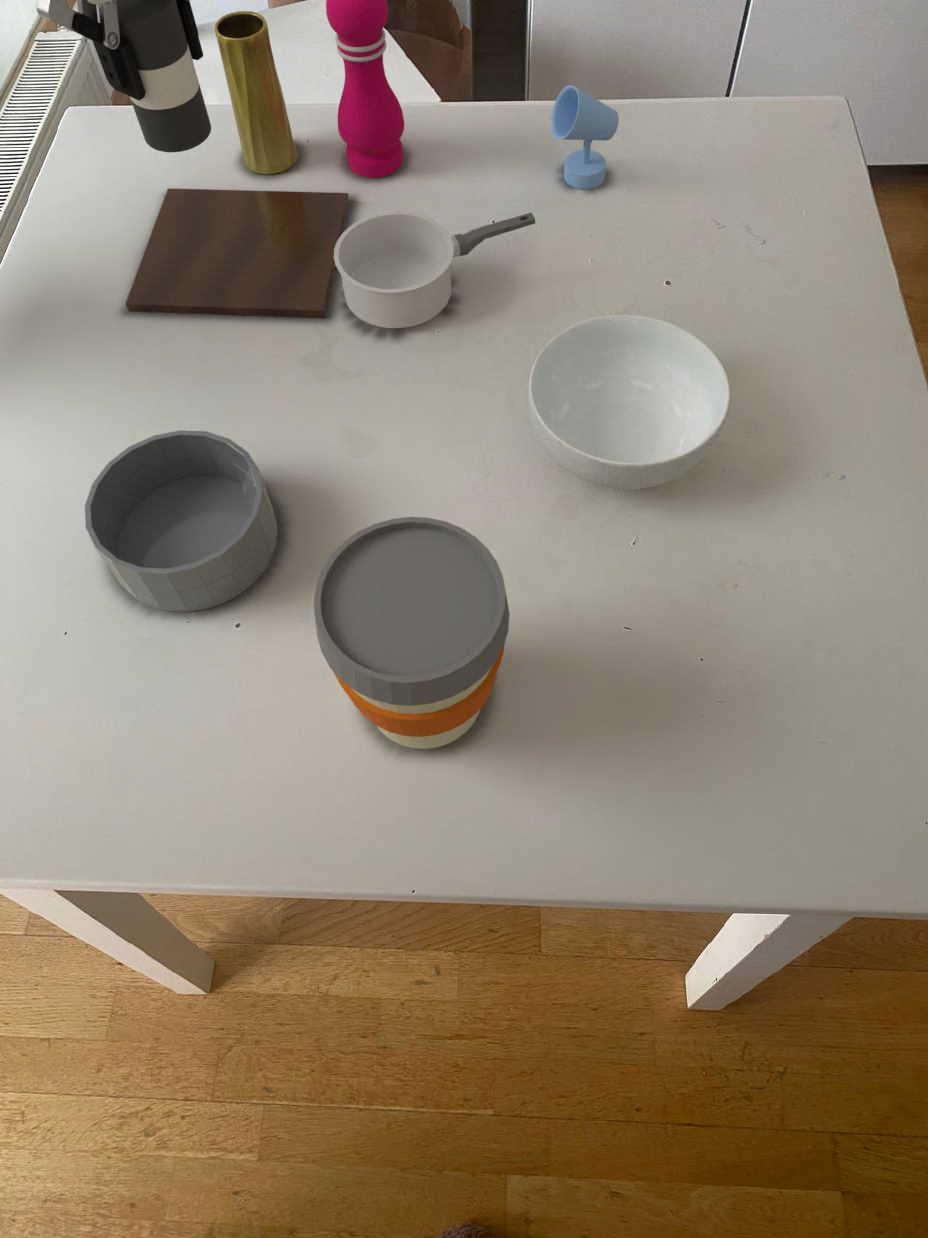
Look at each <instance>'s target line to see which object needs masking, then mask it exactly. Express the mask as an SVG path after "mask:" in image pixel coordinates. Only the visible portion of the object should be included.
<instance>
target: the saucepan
mask: <svg viewBox="0 0 928 1238" xmlns="http://www.w3.org/2000/svg"><path fill="white" fill-rule="evenodd" d="M535 224H536V218H535V216H534V214H533V213H532V212H527V213H524V214H521V215H517V216H514V217H510V218H508V219H504V220H499V221H497V222H494V223H490V224H487V225H483V226H479V227H477V228H475V229H472V230H469V231H467V232H466V233H463V234H462V233H457V234H454V235H451V234H450V232H448V230H447V229H446V228H445V227H444V226H443V225H442V224H441V223H440V222H438V221H436V220H434V219H433V218H431V217H428V216H427V215H423V214H420V213H416V212H411V211H385V212H380V213H375V214H372V215H369V216H366V217H364V218H362V219H360V220H358V221H356V222H354V223H353V224H352V225H350V226H348V227H347V228H345V230H343V233H342V234H341V236H340V238H339V239H338V241H337V243H336V245H335V248H334V261H335V268H337V271H338V272H339V274H340V277H341V283H342V288H343V294H344V298H345V299H344V300H345V303H346V305H347V306H348V308H349V310H350V312H351V313H353V314H354V316H356V317H357V318H358V319H360V320H361V321H363V322H365V323H367V324H370V325H372V326H375V327H379V328H386V329H404V328H410V327H415V326H418V325H421V324H424V323H426V322H427V321H429V320H432V319H433V318H435V317H436V316H437V315H439V314H440V313H441V312H442V311H443V310H444V308H445V307H446V306H447V304H448V302H449V301H450V299H451V295H452V272H451V271H452V269H451V262H452V261H453V258H458V257H463V256H468V254H469V253H470V252H472V251H473V250H474V249H475V248H476V247H477V246H478V245H480V244H481V243H482V242H483V241H485V240H488V239H490V238H493V237H496V236H499V235H502V234H506V233H509V232H513V231H515V230H519V229H522V228H526V227H528V226H532V225H535Z"/></svg>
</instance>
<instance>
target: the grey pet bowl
mask: <svg viewBox="0 0 928 1238" xmlns="http://www.w3.org/2000/svg"><path fill="white" fill-rule="evenodd" d="M275 515H276V513H275V509H274V507H273V504H272V501H271V499H270V496H269V493H268V490H267V487H266V485H265V482H264V479H263V477H262V474H261V470H260V469H259V467H258V465H257V464H256V462H255V461H254V460H253V458H252V456H251V454H250V453H249V452H248V451H247V450H246V449H245V448H243V447H241V446H240V445H239V444H237V443H236V442H235V441H233V440H232V439H231V438H228V437H225V436H222V435H220V434H216V433H213V432H210V431H206V430H185V429H184V430H183V429H182V430H181V429H180V430H175V431H169V432H165V433H160V434H154V435H151V436H150V437H147V438H145V439H143V440H141V441H138V442H137V443H134V444H132V445H129V446H128V447H127V448H125V449H124V450H123V451H121V452H120V453H119V454H117V455H116V456H115V457H114V458H113V459H111V460H109V462H108V463H107V464H106V465H105V466H104V467H103V469H102V470H101V471H100V472H99V474H98V476H97V477H96V478H95V479H94V480H93V482H92V484H91V487H90V489H89V493H88V495H87V498H86V501H85V503H84V517H85V518H84V519H85V520H84V521H85V523H84V524H85V530H86V532H87V534H88V536H89V538H90V540H91V542H92V544H93V547H94V548H95V549H96V551H97V552H98V554H99V556H100V557H101V558H102V560H103V561H104V562H105V564H106V565H107V567H108V569H109V570H110V571H111V573H112V574H113V575H114V577H115V578H116V580H117V582H119V584H120V585H121V586H122V587H123V588H124V589H125V590H126V591H127V592H128V593H129V594H130V595H131V596H133V597H134V598H135V599H136V600H137V601H140V602H141V603H143V604H145V605H147V606H150V607H152V608H155V609H158V610H163V611H167V612H177V613H178V612H179V613H183V612H185V613H187V612H188V613H189V612H197V611H202V610H206V609H210V608H213V607H214V608H215V607H216V606H219V605H222V604H224V603H227V602H229V601H230V600H232V599H234V598H236V597H237V596H239V595H241V594H242V593H244V591H246V590H247V589H249V587H251V586H252V585H253V584H254V583H255V582H256V581H257V580H258V579H259V578H260V576H261V575H262V574H263V573H264V572H265V570H266V569H267V567H268V566H269V564H270V562H271V560H272V558H273V555H274V553H275V550H276V547H277V541H278V524H277V519H276V516H275Z"/></svg>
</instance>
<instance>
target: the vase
mask: <svg viewBox="0 0 928 1238" xmlns="http://www.w3.org/2000/svg"><path fill="white" fill-rule="evenodd" d="M214 33H215V37H216V40H217V45H218V48H219V53H220V57H221V62H222V66H223V70H224V71H223V72H224V75H225V79H226V84H227V88H228V93H229V98H230V101H231V102H230V103H231V106H232V110H233V115H234V118H235V123H236V127H237V133H238V138H239V143H240V146H241V152H242V160H243V163H244V165H245V166H246V168H247V169H248V170H250V171H252V172H254V173H256V174H260V175H275V174H279V173H283V172H285V171H286V170H288V169H290V168H291V167H292V166H293V165H294V164H295V163H296V161H297V159H298V149H297V147H296V145H295V143H294V137H293V134H292V128H291V123H290V120H289V115H288V110H287V107H286V101H285V97H284V93H283V88H282V85H281V83H280V79H279V75H278V71H277V68H276V64H275V59H274V55H273V49H272V45H271V40H270V39H271V38H270V33H269V27H268V23H267V20H266V18H265V16H263V15H262V14H260V13H258V12H255V11H250V10H240V11H239V10H237V11H233V12H230V13H226V14H225V15H223V16H221V17H220V18H219V19H217V21H216V22H215V24H214Z"/></svg>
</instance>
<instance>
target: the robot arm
mask: <svg viewBox="0 0 928 1238" xmlns="http://www.w3.org/2000/svg"><path fill="white" fill-rule="evenodd" d="M76 2H77V3H76V4H77V11H76V10H74V9H73V8H71V7H70V6H69V4H68V0H37V1H36V13H37V14H38V16H40V17H41V18H43V19H46V20H48V21H50V22H52V23H55V24H56V25H59V26H61V27H63V28H66V29H68V30H70V31H72V32H74V33H76V34H78V35H81V36H82V37H84V38H86V39H88V40H90V41H92V43H93V45H94V49H95V53H96V54H97V57H98V60H99V62H100V65H101V68H102V70H103V73H104V76H105V79H106V80H107V83H108V84H109V85H110V86H111V88H113V90H115V91H117V92H119V93H121V94H123V95H126V96H128V97H129V98H130V97H132V98H134V99H136V100H138V101H140V100H141V99H143V98H144V97H145V94H146V92H145V89H144V86H143V83H142V80H141V77H140V74H139V71H138V68H137V65H136V62H135V59H134V56H133V53H132V50H131V47H130V46H129V44H128V43H126V42H124V41H122V40H120V32H119V21H118V9H117V0H76ZM176 3H177V7H178V10H179V14H180V17H181V21H182V25H183V28H184V32H185V35H186V39H187V43H188V46H189V49H190V53H191V56H192V60H193V61H199V60H201V59H202V58H204V52H203V48H202V44H201V41H200V37H199V30H198V27H197V22H196V20H195V16H194V12H193V8H192V4H191V0H176ZM98 8H99V9H98ZM98 17H99V18H98Z"/></svg>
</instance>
